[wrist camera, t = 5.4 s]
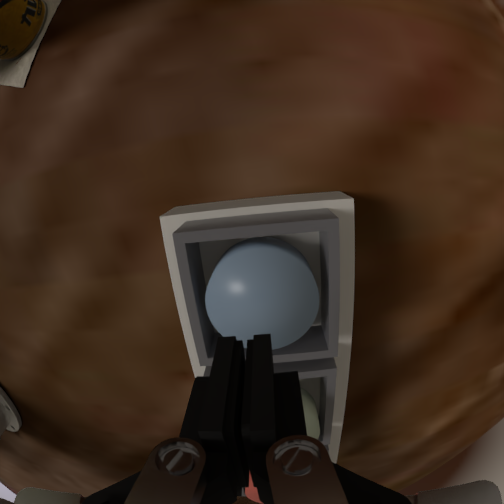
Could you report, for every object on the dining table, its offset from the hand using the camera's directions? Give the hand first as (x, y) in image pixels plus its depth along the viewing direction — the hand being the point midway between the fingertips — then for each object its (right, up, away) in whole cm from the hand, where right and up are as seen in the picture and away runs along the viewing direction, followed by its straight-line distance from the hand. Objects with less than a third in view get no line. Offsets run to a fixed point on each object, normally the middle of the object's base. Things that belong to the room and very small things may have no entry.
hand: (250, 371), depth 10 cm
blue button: (+1, +2, +6) cm, 7 cm away
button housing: (+2, -4, +12) cm, 13 cm away
